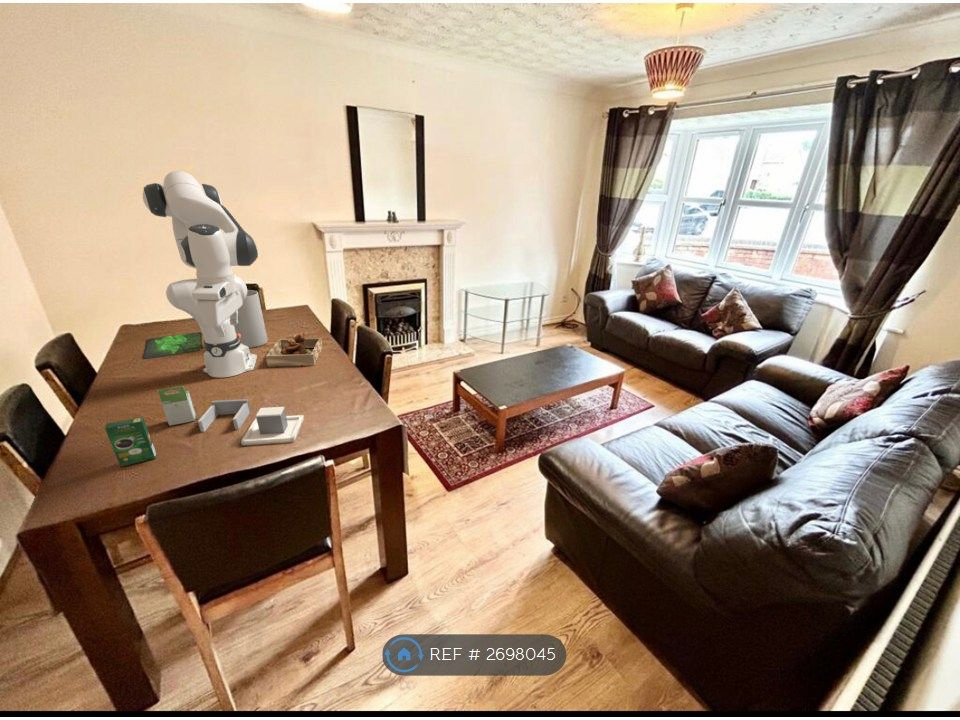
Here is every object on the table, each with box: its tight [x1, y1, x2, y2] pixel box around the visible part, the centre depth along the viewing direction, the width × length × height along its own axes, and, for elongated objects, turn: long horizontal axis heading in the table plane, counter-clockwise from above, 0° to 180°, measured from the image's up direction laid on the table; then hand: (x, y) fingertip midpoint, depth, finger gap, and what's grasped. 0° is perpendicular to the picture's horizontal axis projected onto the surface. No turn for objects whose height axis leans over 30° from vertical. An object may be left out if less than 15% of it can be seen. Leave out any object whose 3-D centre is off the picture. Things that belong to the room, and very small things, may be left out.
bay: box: [197, 398, 251, 433], centre depth 127 cm, size 11×11×5 cm
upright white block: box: [255, 406, 288, 435], centre depth 123 cm, size 4×7×7 cm, turn 100°
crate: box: [265, 337, 324, 368], centre depth 175 cm, size 20×19×5 cm
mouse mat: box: [142, 331, 203, 360], centre depth 183 cm, size 27×22×1 cm
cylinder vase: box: [234, 289, 269, 349], centre depth 183 cm, size 12×12×25 cm
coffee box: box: [104, 416, 157, 467], centre depth 107 cm, size 8×3×13 cm, turn 120°
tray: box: [240, 414, 305, 446], centre depth 124 cm, size 13×15×2 cm
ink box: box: [156, 385, 197, 427], centre depth 125 cm, size 7×4×13 cm, turn 117°
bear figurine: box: [280, 332, 312, 355], centre depth 172 cm, size 14×15×12 cm
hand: (228, 330), depth 116 cm, fingers open, 8 cm apart
